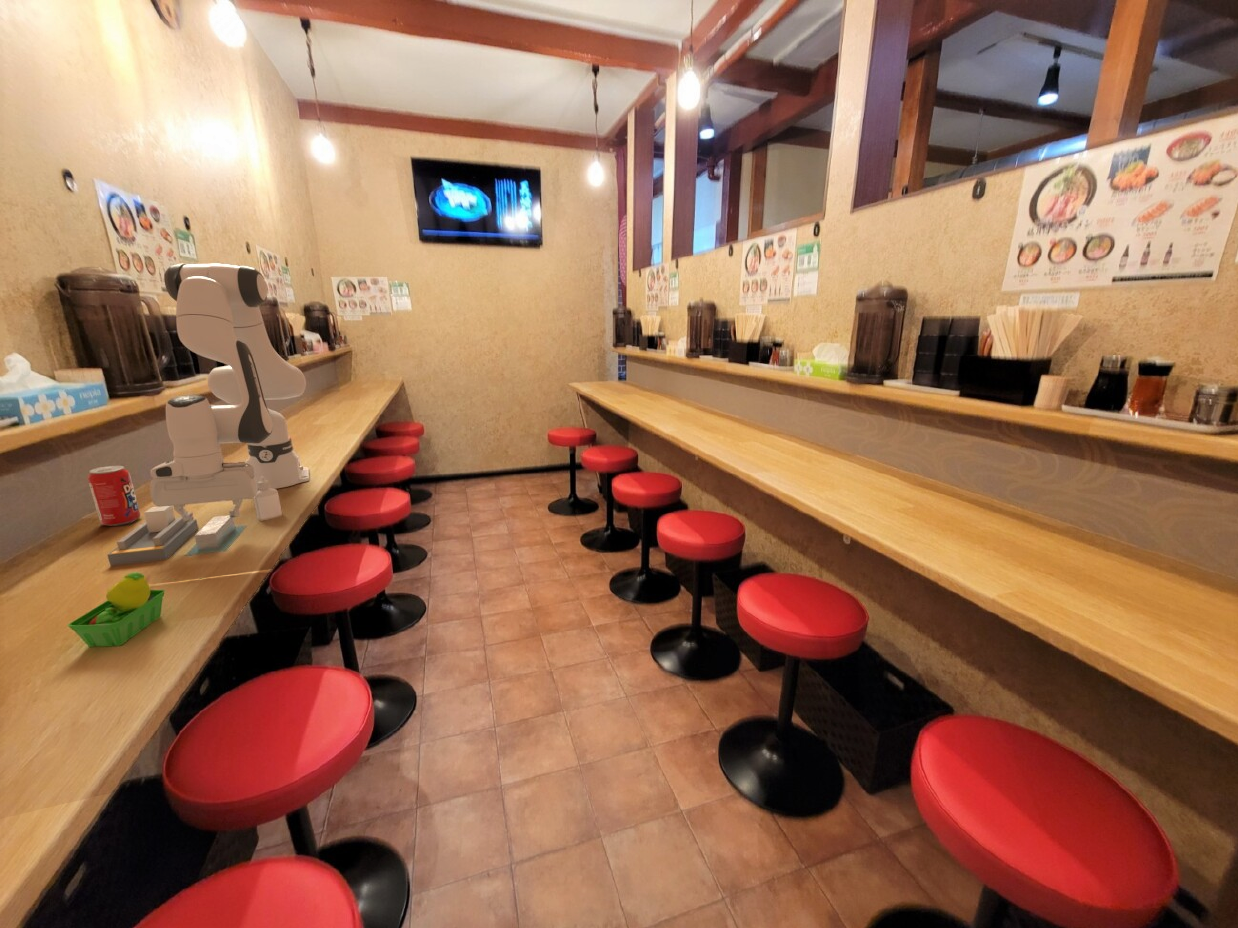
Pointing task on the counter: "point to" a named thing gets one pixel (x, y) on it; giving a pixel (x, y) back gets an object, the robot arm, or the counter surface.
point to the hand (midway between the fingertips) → (212, 518)
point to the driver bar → (215, 533)
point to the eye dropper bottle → (267, 501)
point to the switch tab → (159, 518)
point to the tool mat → (223, 547)
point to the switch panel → (152, 543)
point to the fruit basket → (120, 613)
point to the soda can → (113, 495)
